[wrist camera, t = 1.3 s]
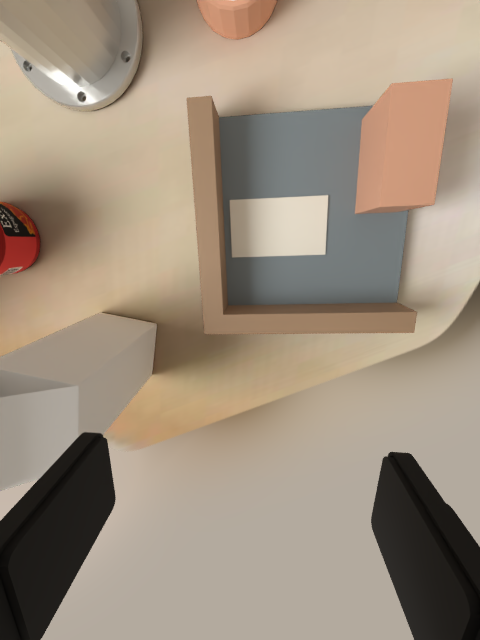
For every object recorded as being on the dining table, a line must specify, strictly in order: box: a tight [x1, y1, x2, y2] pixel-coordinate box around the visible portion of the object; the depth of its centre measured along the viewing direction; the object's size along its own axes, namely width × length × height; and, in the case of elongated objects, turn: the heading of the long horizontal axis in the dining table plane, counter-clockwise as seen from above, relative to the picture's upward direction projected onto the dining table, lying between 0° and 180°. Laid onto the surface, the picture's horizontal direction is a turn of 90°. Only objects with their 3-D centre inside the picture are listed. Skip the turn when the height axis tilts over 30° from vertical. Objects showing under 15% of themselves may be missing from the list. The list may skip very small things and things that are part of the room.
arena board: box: [187, 96, 417, 334], centre depth 26 cm, size 20×20×5 cm
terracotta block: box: [355, 79, 453, 214], centre depth 23 cm, size 8×4×6 cm, turn 2°
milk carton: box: [0, 312, 157, 491], centre depth 25 cm, size 7×7×19 cm
